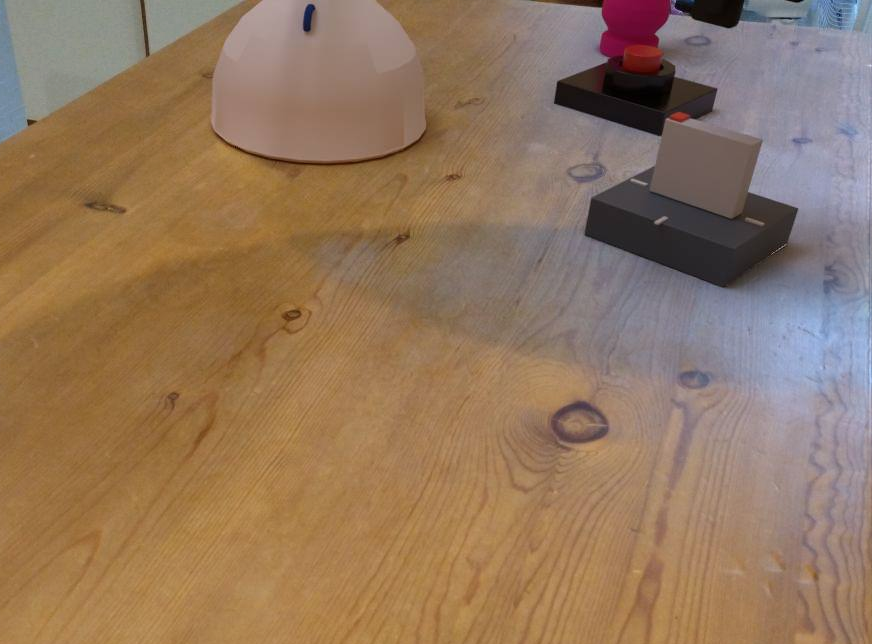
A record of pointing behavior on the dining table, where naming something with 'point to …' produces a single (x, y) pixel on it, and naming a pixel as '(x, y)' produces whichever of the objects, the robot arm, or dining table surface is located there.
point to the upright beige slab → (705, 165)
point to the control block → (634, 95)
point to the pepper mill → (632, 24)
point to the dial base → (689, 230)
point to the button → (642, 58)
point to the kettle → (319, 83)
